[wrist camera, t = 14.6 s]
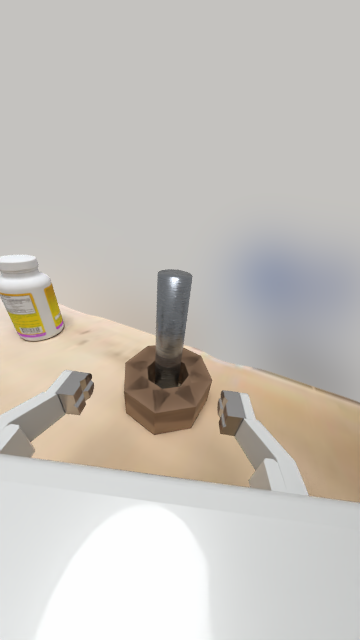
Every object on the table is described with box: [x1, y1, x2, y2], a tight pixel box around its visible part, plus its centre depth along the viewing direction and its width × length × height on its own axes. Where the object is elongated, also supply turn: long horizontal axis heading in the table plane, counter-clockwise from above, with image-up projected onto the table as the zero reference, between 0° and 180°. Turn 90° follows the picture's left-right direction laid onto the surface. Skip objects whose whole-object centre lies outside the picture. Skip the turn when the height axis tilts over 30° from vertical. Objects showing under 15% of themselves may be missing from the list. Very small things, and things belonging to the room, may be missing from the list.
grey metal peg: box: [155, 270, 192, 389], centre depth 19 cm, size 3×3×16 cm
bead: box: [124, 346, 212, 435], centre depth 23 cm, size 10×10×4 cm
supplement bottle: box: [0, 255, 64, 341], centre depth 29 cm, size 7×7×13 cm
